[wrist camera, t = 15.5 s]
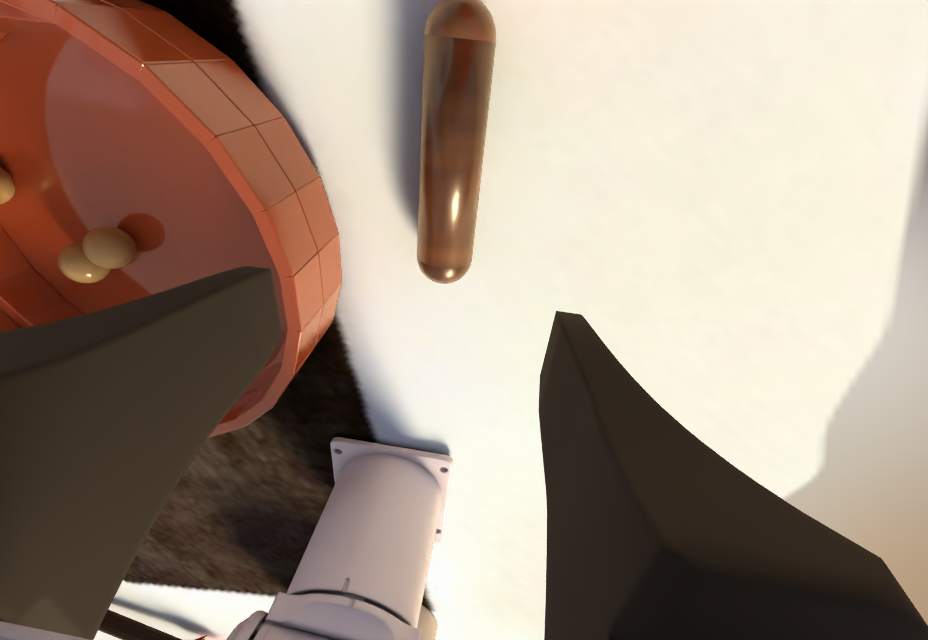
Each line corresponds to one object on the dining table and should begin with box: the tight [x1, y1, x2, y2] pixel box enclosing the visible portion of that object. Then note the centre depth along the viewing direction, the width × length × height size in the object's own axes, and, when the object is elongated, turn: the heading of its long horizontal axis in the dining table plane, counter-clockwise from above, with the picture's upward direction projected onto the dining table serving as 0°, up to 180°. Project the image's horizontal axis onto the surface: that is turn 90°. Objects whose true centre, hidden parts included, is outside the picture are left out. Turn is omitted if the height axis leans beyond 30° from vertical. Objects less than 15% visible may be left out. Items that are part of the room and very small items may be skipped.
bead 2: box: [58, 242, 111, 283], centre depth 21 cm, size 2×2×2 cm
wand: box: [98, 610, 207, 640], centre depth 48 cm, size 4×4×30 cm
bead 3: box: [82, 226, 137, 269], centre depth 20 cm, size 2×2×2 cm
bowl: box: [0, 0, 342, 438], centre depth 19 cm, size 19×19×5 cm
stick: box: [417, 0, 496, 284], centre depth 17 cm, size 10×2×2 cm, turn 175°
